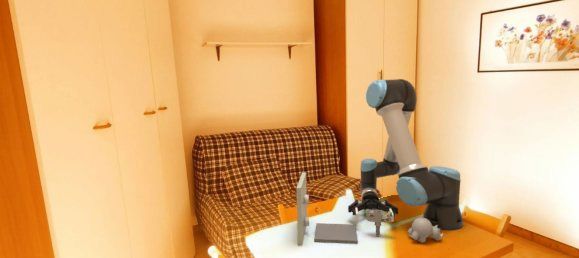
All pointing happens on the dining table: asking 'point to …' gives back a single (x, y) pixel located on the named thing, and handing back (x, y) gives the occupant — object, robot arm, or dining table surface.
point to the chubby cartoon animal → (424, 230)
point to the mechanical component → (377, 218)
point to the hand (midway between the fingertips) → (374, 217)
